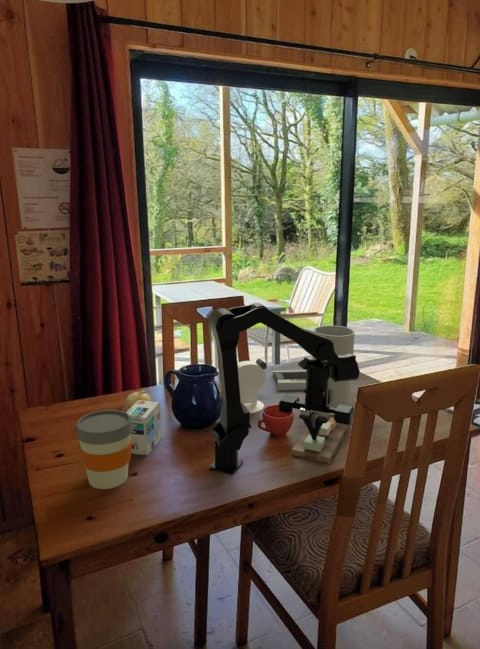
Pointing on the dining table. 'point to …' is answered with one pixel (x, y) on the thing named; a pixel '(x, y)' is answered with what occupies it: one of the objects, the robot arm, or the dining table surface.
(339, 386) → the cylinder vase
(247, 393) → the panda figurine
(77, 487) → the dining table surface
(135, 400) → the onion
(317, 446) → the pale green cube
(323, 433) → the white cube
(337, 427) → the walnut panel
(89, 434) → the reusable coffee cup
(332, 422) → the salmon tan cube
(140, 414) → the light bulb box
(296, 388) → the light grey tray
